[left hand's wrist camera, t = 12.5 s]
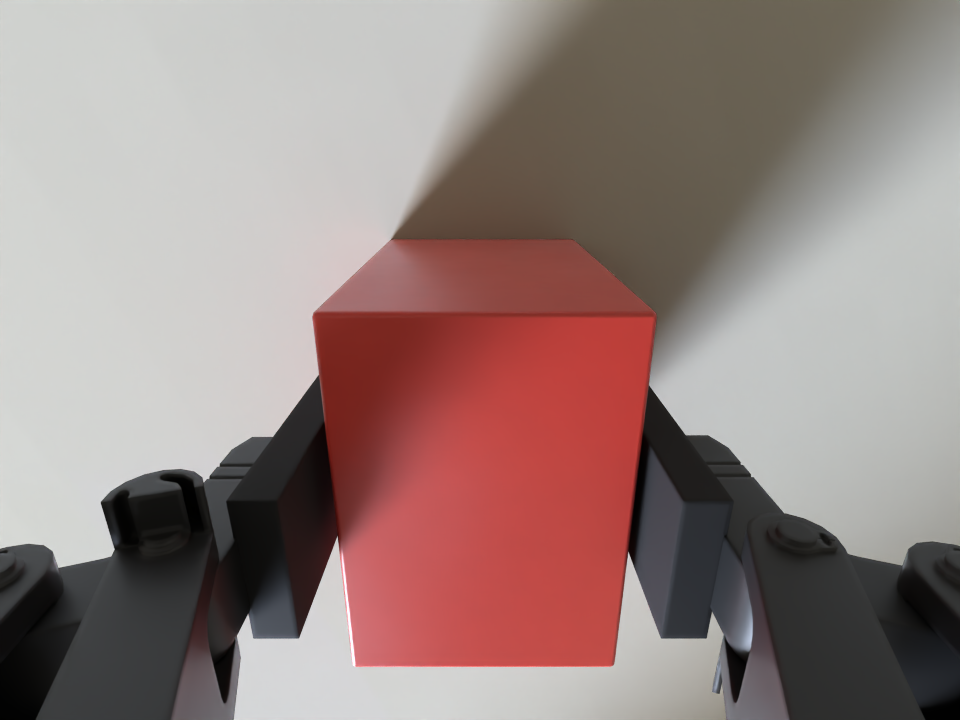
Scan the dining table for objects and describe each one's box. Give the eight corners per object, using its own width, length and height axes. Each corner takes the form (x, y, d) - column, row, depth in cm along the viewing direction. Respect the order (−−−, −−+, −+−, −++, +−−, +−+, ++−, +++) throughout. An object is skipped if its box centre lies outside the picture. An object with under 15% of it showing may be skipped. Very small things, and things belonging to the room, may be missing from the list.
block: (574, 238, 16) (660, 312, 8) (560, 462, 19) (615, 668, 11) (389, 238, 16) (309, 312, 8) (403, 462, 19) (351, 668, 11)
